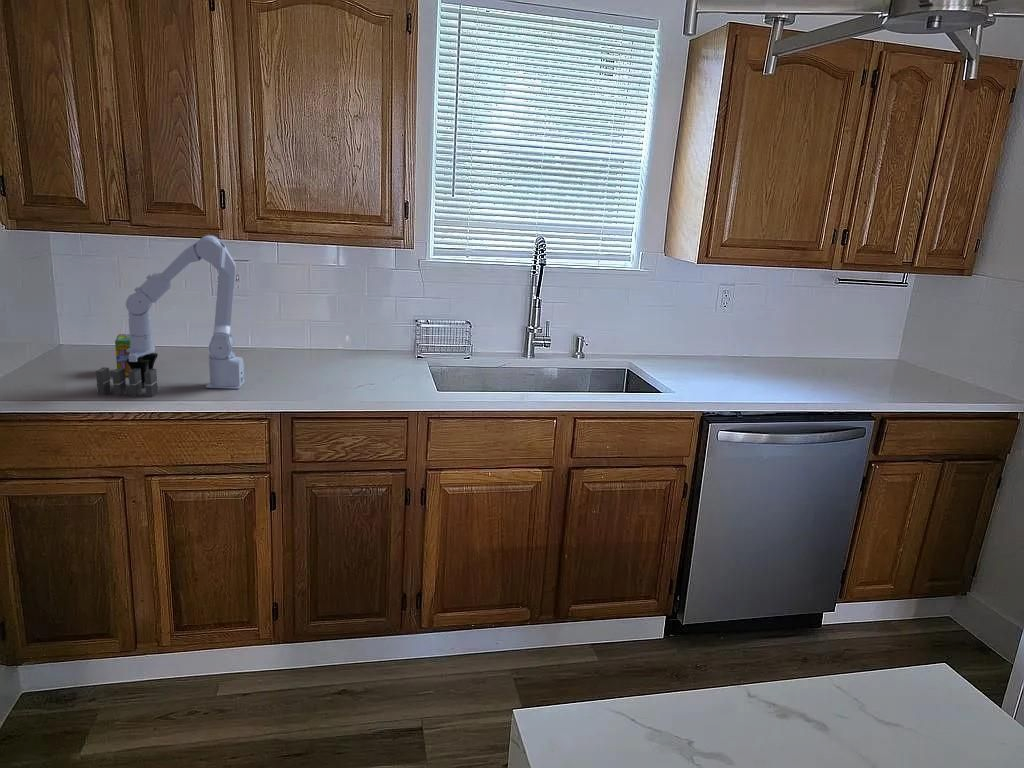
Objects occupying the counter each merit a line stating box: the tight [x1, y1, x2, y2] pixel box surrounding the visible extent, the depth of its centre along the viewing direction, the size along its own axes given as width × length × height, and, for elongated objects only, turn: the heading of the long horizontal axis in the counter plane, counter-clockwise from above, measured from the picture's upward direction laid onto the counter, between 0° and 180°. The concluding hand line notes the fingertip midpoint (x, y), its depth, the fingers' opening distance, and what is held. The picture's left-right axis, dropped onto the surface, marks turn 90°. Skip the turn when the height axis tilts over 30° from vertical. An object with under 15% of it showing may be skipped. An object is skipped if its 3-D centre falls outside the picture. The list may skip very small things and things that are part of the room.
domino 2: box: [111, 368, 127, 397], centre depth 202 cm, size 2×4×7 cm, turn 7°
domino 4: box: [142, 363, 149, 390], centre depth 210 cm, size 2×4×7 cm, turn 7°
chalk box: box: [114, 333, 132, 377], centre depth 223 cm, size 9×9×15 cm
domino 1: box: [95, 366, 112, 396], centre depth 202 cm, size 2×4×7 cm, turn 7°
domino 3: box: [128, 368, 143, 398], centre depth 203 cm, size 2×4×7 cm, turn 7°
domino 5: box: [144, 368, 159, 398], centre depth 203 cm, size 2×4×7 cm, turn 7°
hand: (144, 380), depth 211 cm, fingers closed on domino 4, 4 cm apart
